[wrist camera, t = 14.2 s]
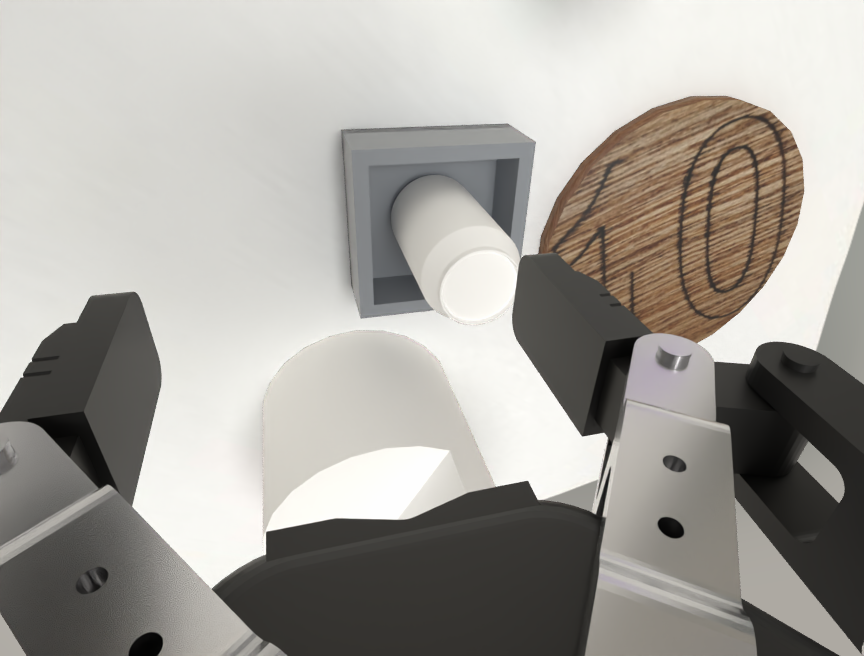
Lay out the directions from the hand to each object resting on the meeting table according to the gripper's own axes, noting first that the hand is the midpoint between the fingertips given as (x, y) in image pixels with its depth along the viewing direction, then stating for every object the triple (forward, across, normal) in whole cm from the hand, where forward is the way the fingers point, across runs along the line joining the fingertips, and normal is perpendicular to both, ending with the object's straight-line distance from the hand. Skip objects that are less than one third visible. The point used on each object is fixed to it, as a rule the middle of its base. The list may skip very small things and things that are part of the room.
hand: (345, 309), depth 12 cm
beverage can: (+27, -9, +9) cm, 30 cm away
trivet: (+29, -31, +14) cm, 45 cm away
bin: (+28, -9, +9) cm, 31 cm away
